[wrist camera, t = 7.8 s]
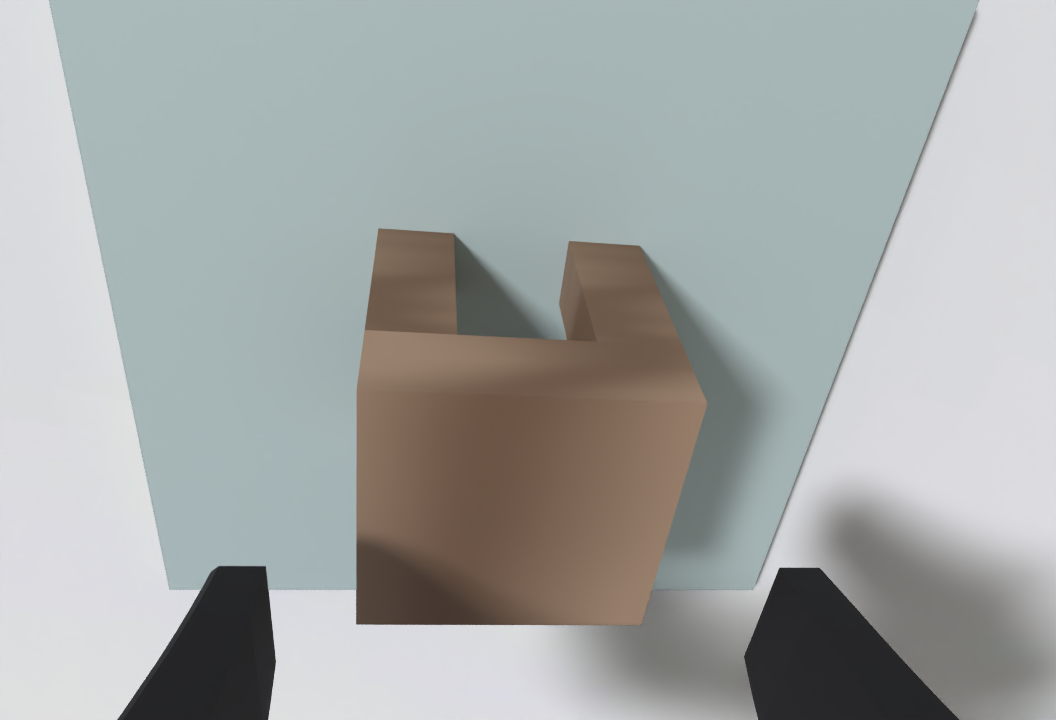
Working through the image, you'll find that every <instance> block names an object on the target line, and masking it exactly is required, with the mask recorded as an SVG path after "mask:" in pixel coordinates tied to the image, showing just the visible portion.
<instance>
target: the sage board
mask: <svg viewBox="0 0 1056 720" xmlns="http://www.w3.org/2000/svg"><path fill="white" fill-rule="evenodd" d="M49 3H50V8H51V13H52V18H53V23H54V27H55V32H56V37H57V42H58V47H59V52H60V57H61V62H62V67H63V71H64V76H65V81H66V86H67V91H68V96H69V101H70V106H71V111H72V115H73V120H74V125H75V130H76V135H77V140H78V145H79V150H80V155H81V160H82V164H83V169H84V174H85V179H86V184H87V189H88V194H89V199H90V204H91V208H92V213H93V218H94V223H95V228H96V233H97V238H98V243H99V248H100V252H101V257H102V262H103V267H104V272H105V277H106V282H107V287H108V292H109V296H110V301H111V306H112V311H113V316H114V321H115V326H116V331H117V336H118V340H119V345H120V350H121V355H122V360H123V365H124V370H125V375H126V380H127V384H128V389H129V394H130V399H131V404H132V409H133V414H134V419H135V424H136V429H137V433H138V438H139V443H140V448H141V453H142V458H143V463H144V468H145V473H146V477H147V482H148V487H149V492H150V497H151V502H152V507H153V512H154V517H155V521H156V526H157V531H158V536H159V541H160V546H161V551H162V556H163V561H164V565H165V570H166V575H167V580H168V585H169V590H201V589H202V587H203V585H204V583H205V582H206V580H207V578H208V576H209V574H210V572H211V571H212V570H214V569H215V568H217V567H218V566H266V572H267V581H268V590H356V469H357V382H358V375H359V368H360V360H361V353H362V345H363V338H364V331H365V323H366V316H367V309H368V301H369V294H370V286H371V279H372V272H373V264H374V257H375V249H376V242H377V235H378V228H382V229H397V230H412V231H427V232H442V233H454V253H455V284H456V316H457V335H474V336H494V337H514V338H534V339H554V340H567V337H566V333H565V328H564V324H563V320H562V315H561V311H560V306H559V300H560V293H561V287H562V281H563V275H564V268H565V262H566V256H567V249H568V243H569V241H577V242H592V243H607V244H622V245H637V246H640V247H641V250H642V252H643V254H644V257H645V259H646V261H647V264H648V266H649V268H650V271H651V273H652V275H653V278H654V280H655V282H656V285H657V287H658V289H659V292H660V294H661V296H662V299H663V301H664V303H665V306H666V308H667V310H668V313H669V315H670V317H671V320H672V322H673V324H674V327H675V329H676V331H677V334H678V336H679V338H680V341H681V343H682V345H683V348H684V350H685V352H686V355H687V357H688V359H689V362H690V364H691V366H692V369H693V371H694V373H695V376H696V378H697V380H698V383H699V385H700V387H701V390H702V392H703V394H704V397H705V399H706V401H707V407H706V410H705V413H704V417H703V420H702V423H701V427H700V430H699V433H698V437H697V440H696V444H695V447H694V450H693V454H692V457H691V460H690V464H689V467H688V470H687V474H686V477H685V480H684V484H683V487H682V491H681V494H680V497H679V501H678V504H677V507H676V511H675V514H674V517H673V521H672V524H671V527H670V531H669V534H668V538H667V541H666V544H665V548H664V551H663V554H662V558H661V561H660V564H659V568H658V571H657V574H656V578H655V581H654V584H653V588H652V590H753V589H754V586H755V584H756V581H757V578H758V576H759V573H760V571H761V568H762V565H763V563H764V560H765V558H766V555H767V552H768V550H769V547H770V544H771V542H772V539H773V537H774V534H775V531H776V529H777V526H778V524H779V521H780V518H781V516H782V513H783V511H784V508H785V505H786V503H787V500H788V498H789V495H790V492H791V490H792V487H793V485H794V482H795V479H796V477H797V474H798V472H799V469H800V466H801V464H802V461H803V459H804V456H805V453H806V451H807V448H808V446H809V443H810V440H811V438H812V435H813V432H814V430H815V427H816V425H817V422H818V419H819V417H820V414H821V412H822V409H823V406H824V404H825V401H826V399H827V396H828V393H829V391H830V388H831V386H832V383H833V380H834V378H835V375H836V373H837V370H838V367H839V365H840V362H841V360H842V357H843V354H844V352H845V349H846V347H847V344H848V341H849V339H850V336H851V333H852V331H853V328H854V326H855V323H856V320H857V318H858V315H859V313H860V310H861V307H862V305H863V302H864V300H865V297H866V294H867V292H868V289H869V287H870V284H871V281H872V279H873V276H874V274H875V271H876V268H877V266H878V263H879V261H880V258H881V255H882V253H883V250H884V248H885V245H886V242H887V240H888V237H889V235H890V232H891V229H892V227H893V224H894V221H895V219H896V216H897V214H898V211H899V208H900V206H901V203H902V201H903V198H904V195H905V193H906V190H907V188H908V185H909V182H910V180H911V177H912V175H913V172H914V169H915V167H916V164H917V162H918V159H919V156H920V154H921V151H922V149H923V146H924V143H925V141H926V138H927V136H928V133H929V130H930V128H931V125H932V122H933V120H934V117H935V115H936V112H937V109H938V107H939V104H940V102H941V99H942V96H943V94H944V91H945V89H946V86H947V83H948V81H949V78H950V76H951V73H952V70H953V68H954V65H955V63H956V60H957V57H958V55H959V52H960V50H961V47H962V44H963V42H964V39H965V37H966V34H967V31H968V29H969V26H970V24H971V21H972V18H973V16H974V13H975V10H976V8H977V5H978V3H979V0H49Z"/></svg>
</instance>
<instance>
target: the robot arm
mask: <svg viewBox="0 0 1056 720" xmlns="http://www.w3.org/2000/svg"><path fill="white" fill-rule="evenodd" d="M744 658H745V663H746V668H747V672H748V677H749V682H750V686H751V691H752V695H753V700H754V704H755V708H756V712H757V716H758V720H959V719H958V718H957V717H956V716H955V715H954V714H953V713H952V712H951V711H950V710H949V709H948V708H947V707H946V706H945V705H944V704H943V703H942V702H941V700H940V699H939V698H938V697H937V696H936V695H935V694H934V693H933V692H932V691H931V690H930V689H929V688H928V687H927V686H926V685H925V684H924V683H923V682H922V680H921V679H920V678H919V677H918V676H917V675H916V674H915V673H914V672H913V671H912V670H911V669H910V668H909V667H908V665H907V664H906V663H905V662H904V661H903V660H902V659H901V658H900V657H899V656H898V655H897V653H896V652H895V651H894V650H893V649H892V648H891V647H890V646H889V645H888V644H887V642H886V641H885V640H884V639H883V638H882V637H881V636H880V635H879V634H878V632H877V631H876V630H875V629H874V628H873V627H872V626H871V625H870V624H869V622H868V621H867V620H866V619H865V618H864V617H863V616H862V615H861V613H860V612H859V611H858V610H857V609H856V608H855V607H854V606H853V604H852V603H851V602H850V601H849V600H848V599H847V598H846V597H845V596H844V594H843V593H842V592H841V591H840V590H839V589H838V588H837V587H836V585H835V584H834V583H833V582H832V581H831V580H830V579H829V578H828V577H827V576H826V574H825V573H824V572H823V571H822V570H821V569H820V568H779V570H778V573H777V575H776V578H775V580H774V583H773V585H772V588H771V591H770V593H769V596H768V598H767V601H766V603H765V606H764V608H763V611H762V613H761V616H760V618H759V621H758V623H757V626H756V628H755V631H754V633H753V636H752V638H751V641H750V643H749V646H748V648H747V651H746V653H745V656H744ZM275 664H276V659H275V649H274V640H273V630H272V620H271V610H270V601H269V591H268V581H267V572H266V566H218V567H217V568H215V569H214V570H212V571H211V572H210V574H209V576H208V578H207V580H206V582H205V583H204V585H203V587H202V589H201V591H200V593H199V594H198V596H197V598H196V600H195V601H194V603H193V605H192V607H191V608H190V610H189V612H188V613H187V615H186V617H185V618H184V620H183V622H182V623H181V625H180V627H179V628H178V630H177V631H176V633H175V635H174V636H173V638H172V639H171V641H170V642H169V644H168V646H167V647H166V649H165V650H164V652H163V653H162V655H161V657H160V658H159V660H158V661H157V663H156V664H155V666H154V667H153V669H152V670H151V672H150V673H149V675H148V676H147V677H146V679H145V680H144V682H143V683H142V685H141V686H140V688H139V689H138V691H137V692H136V694H135V695H134V696H133V698H132V699H131V701H130V702H129V704H128V705H127V707H126V708H125V710H124V711H123V713H122V714H121V715H120V717H119V718H118V720H268V716H269V709H270V702H271V695H272V687H273V680H274V672H275Z"/></svg>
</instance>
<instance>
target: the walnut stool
mask: <svg viewBox="0 0 1056 720" xmlns="http://www.w3.org/2000/svg"><path fill="white" fill-rule="evenodd" d="M559 306H560V311H561V315H562V320H563V324H564V328H565V333H566V337H567V340H554V339H534V338H514V337H494V336H474V335H457V316H456V284H455V253H454V233H442V232H427V231H412V230H397V229H382V228H378V235H377V242H376V249H375V257H374V264H373V272H372V279H371V286H370V294H369V301H368V309H367V316H366V323H365V331H364V338H363V345H362V353H361V360H360V368H359V375H358V382H357V469H356V624H374V625H642V621H643V618H644V615H645V611H646V608H647V605H648V601H649V598H650V595H651V591H652V588H653V584H654V581H655V578H656V574H657V571H658V568H659V564H660V561H661V558H662V554H663V551H664V548H665V544H666V541H667V538H668V534H669V531H670V527H671V524H672V521H673V517H674V514H675V511H676V507H677V504H678V501H679V497H680V494H681V491H682V487H683V484H684V480H685V477H686V474H687V470H688V467H689V464H690V460H691V457H692V454H693V450H694V447H695V444H696V440H697V437H698V433H699V430H700V427H701V423H702V420H703V417H704V413H705V410H706V407H707V401H706V399H705V397H704V394H703V392H702V390H701V387H700V385H699V383H698V380H697V378H696V376H695V373H694V371H693V369H692V366H691V364H690V362H689V359H688V357H687V355H686V352H685V350H684V348H683V345H682V343H681V341H680V338H679V336H678V334H677V331H676V329H675V327H674V324H673V322H672V320H671V317H670V315H669V313H668V310H667V308H666V306H665V303H664V301H663V299H662V296H661V294H660V292H659V289H658V287H657V285H656V282H655V280H654V278H653V275H652V273H651V271H650V268H649V266H648V264H647V261H646V259H645V257H644V254H643V252H642V250H641V247H640V246H637V245H622V244H607V243H592V242H577V241H569V243H568V249H567V256H566V262H565V268H564V275H563V281H562V287H561V293H560V300H559Z"/></svg>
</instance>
